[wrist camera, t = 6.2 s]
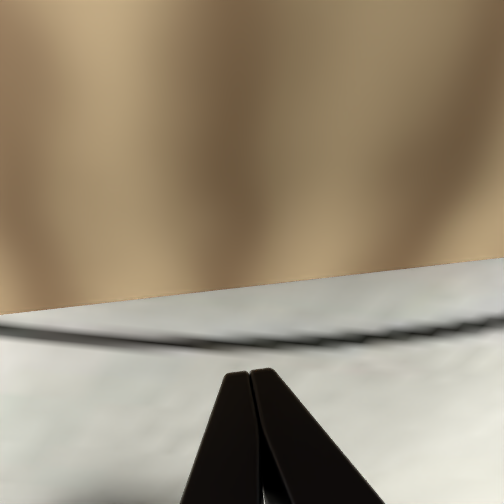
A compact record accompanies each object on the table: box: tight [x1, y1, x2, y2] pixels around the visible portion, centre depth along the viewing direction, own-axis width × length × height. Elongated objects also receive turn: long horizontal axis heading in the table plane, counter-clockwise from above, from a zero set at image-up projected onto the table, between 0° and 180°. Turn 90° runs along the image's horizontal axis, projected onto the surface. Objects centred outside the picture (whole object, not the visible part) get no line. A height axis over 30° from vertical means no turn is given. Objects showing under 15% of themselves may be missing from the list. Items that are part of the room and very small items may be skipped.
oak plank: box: [0, 0, 504, 315], centre depth 15 cm, size 22×10×2 cm, turn 92°
